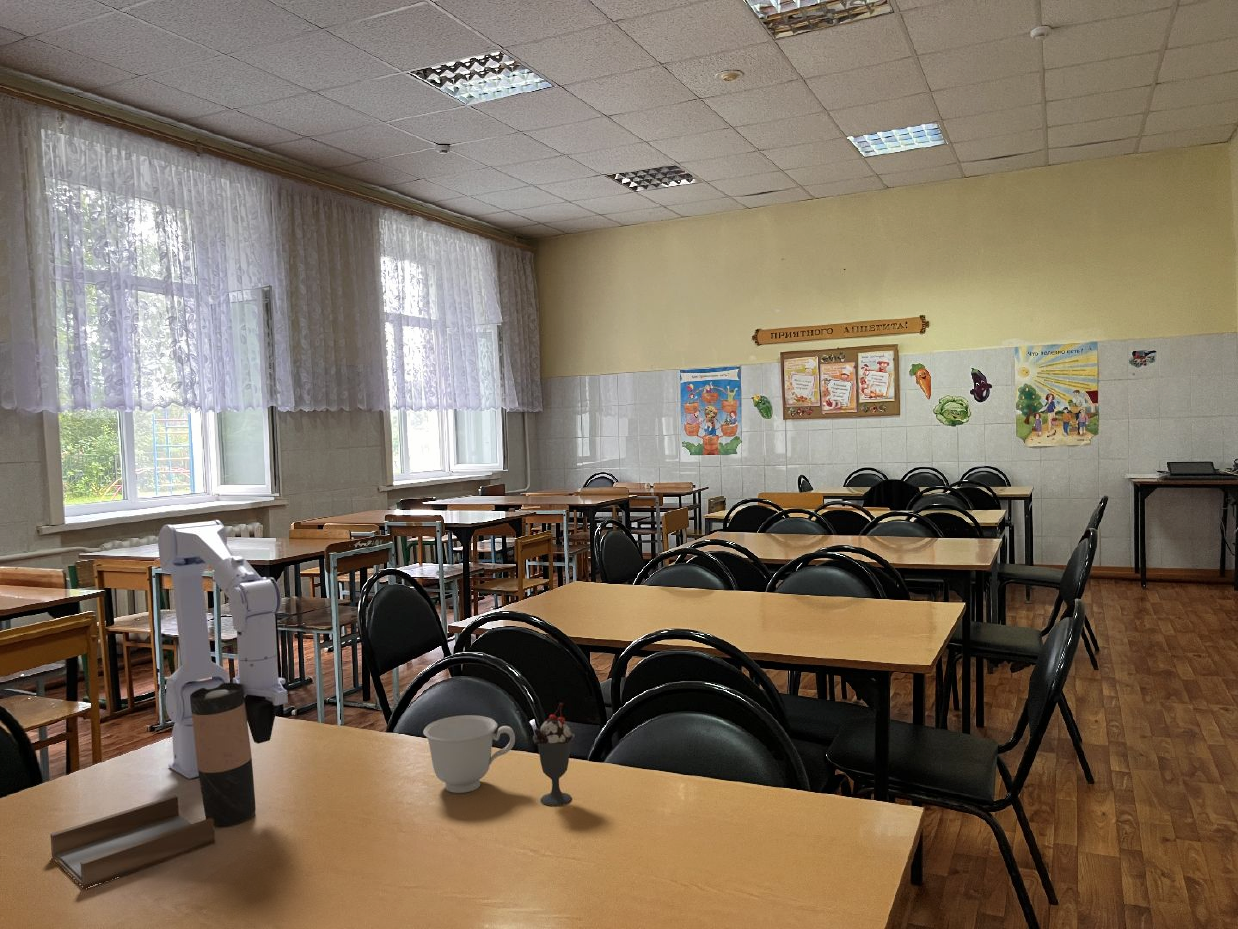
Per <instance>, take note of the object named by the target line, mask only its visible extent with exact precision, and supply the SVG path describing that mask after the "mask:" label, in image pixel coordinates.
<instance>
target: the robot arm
mask: <svg viewBox="0 0 1238 929" xmlns="http://www.w3.org/2000/svg"><path fill="white" fill-rule="evenodd" d="M227 543H228V534H227V530H226V527H225V525H224V524H223V523H222V521H220V520H219V519H213V520H211V521H210V520H209V521H199V522H197V521H196V522H190V523H180V524H164V525H163V526H162V527H161V529H160V531H159V534H158V537H157V546H158V557H159V565H160V566H161V568H160V569H161V571H162V572H164V573H168V574H170V577H171V581H172V588H173V589H172V590H173V598H174V600H173V601H174V606H175V607H174V609H175V616H176V626H177V636H178V642H179V645H178V646H179V652H180V661H181V664H180V666H179V667H178V668H177V669H176V670H175V671H174V672H173V673H172V674H171V675H170V676H169V677H168V679H167V680H166V683H165V686H166V687H165V689H166V690H165V691H166V692H165V700H164V701H165V702H164V703H165V709H166V713H167V716H168V717H169V719H170V720H171V721H172V722H173V723H174V725H173V728H172V730H171V736H172V737H171V739H172V755H173V762H170V763H168V766H167V767H169V768H170V769H172V770H173V771H175V772H177V773H178V774H180V775H182V776H183V777H185V778H187V779H190V780H191V779H194V778H197V777H198V778H199V774H198V767H197V758H196V749H195V740H194V731H193V721H192V711H191V703H190V695H191V694H192V693H193V692H194V691H196V690H198V689H201V688H205V689H213V688H217V687H218V686H219V685H220V684H222V683H231V682H230V680H229V675H228V671H227V669H226V668H225V667H223V666H221V665H219V664H217V663H216V662H214V661H212V652H211V645H210V644H211V643H210V634H209V627H208V618H207V617H208V616H207V608H206V599H205V591H204V590H205V589H204V580H203V574H204V572H205V571H206V569H207V568H209V567H210V568H212V569H213V576H212V577H213V580H214V583H215V584H217V586H218V587H219V589H221V591H222V593H224V595H225V596H226V597H227V598H228V600H227V601H228V602H227V604H228V609H229V612H230V615H231V618H232V619H231V620H232V627H233V629H234V630H235V631H236V640H237V659H238V662H237V663H238V676H236V677H233V678H232V683H239V684H241V685H242V686H243V692H244V695H245V696H244V701H245V708H246V716H247V724H248V729H249V731H250V734H251V737H252V740H253V742H254V743H256V744H259V745H260V744H262V743H266V742H269V741H270V740H271V737H272V732H273V728H274V722H275V719H276V717H277V716H276V715H277V713H278V710H279V708H280V706H281V705H284V704H288V700H289V697H288V690H287V689H285V688H284V687H283V685H285V684H286V679H285V678H284V677H279V669H278V666H279V665H278V649H277V648H278V645H277V643H278V642H277V628H276V627H277V626H276V614H278V613H279V612H280V609H281V606H282V592H281V589H280V586H279V584H278V582H277V581H276V579H275V578H274V577H266V576H264V577H261V575H259V573H258V571H256V570H255V569H254V568H253V567H252V565H251V564H250V563H249V562H248V560H246V559H245V558H244V557H242V556H241V555H237V556H236V555H233V552H232V551H231V550H230V548H229V546H228V544H227ZM208 678H209V679H208ZM199 680H200V681H199Z"/></svg>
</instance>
